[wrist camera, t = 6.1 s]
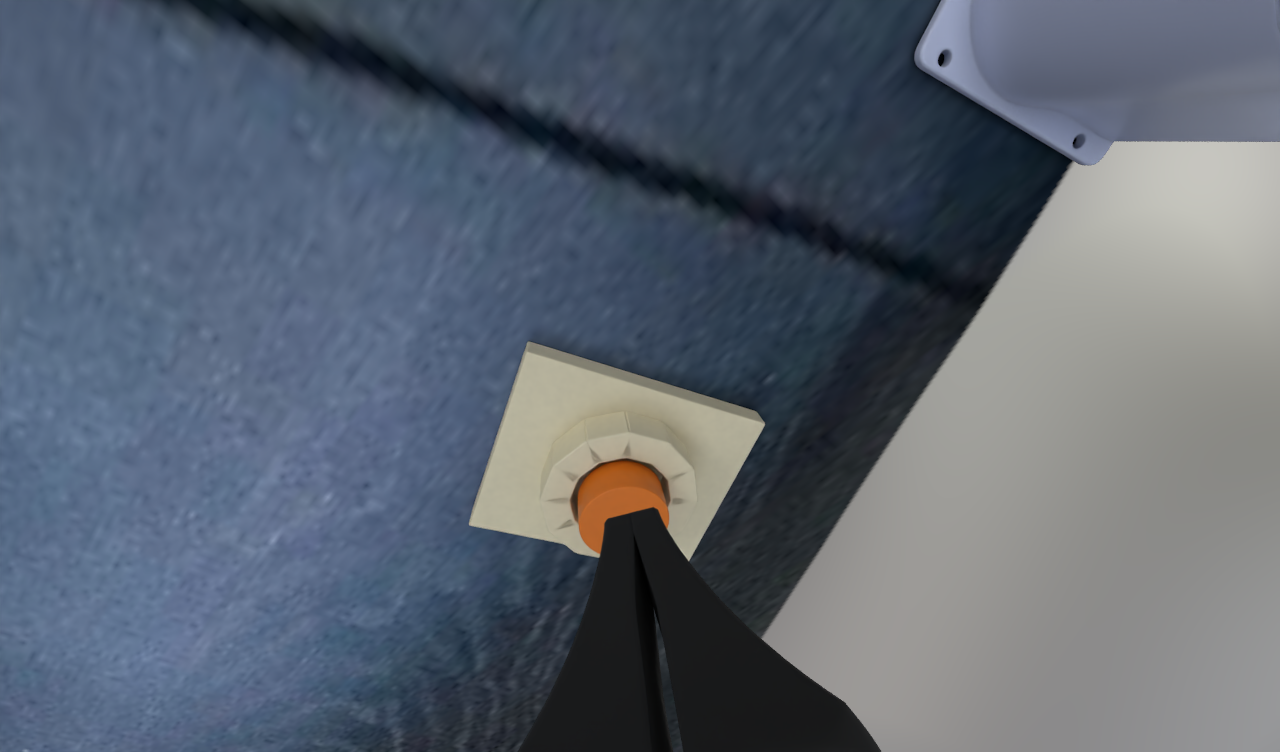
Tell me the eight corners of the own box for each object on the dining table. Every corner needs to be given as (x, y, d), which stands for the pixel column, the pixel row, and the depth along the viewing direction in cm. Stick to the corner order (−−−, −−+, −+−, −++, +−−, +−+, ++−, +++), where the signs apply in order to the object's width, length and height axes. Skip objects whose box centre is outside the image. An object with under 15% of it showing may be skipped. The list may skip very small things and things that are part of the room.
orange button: (675, 471, 21) (684, 498, 19) (643, 535, 22) (649, 565, 21) (594, 450, 20) (597, 477, 18) (566, 519, 21) (566, 548, 20)
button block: (756, 410, 23) (782, 445, 21) (680, 551, 26) (693, 597, 24) (527, 340, 20) (522, 370, 18) (472, 508, 23) (460, 555, 21)
